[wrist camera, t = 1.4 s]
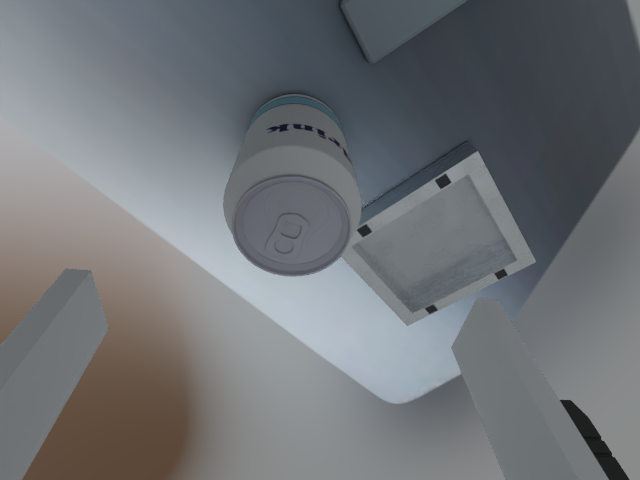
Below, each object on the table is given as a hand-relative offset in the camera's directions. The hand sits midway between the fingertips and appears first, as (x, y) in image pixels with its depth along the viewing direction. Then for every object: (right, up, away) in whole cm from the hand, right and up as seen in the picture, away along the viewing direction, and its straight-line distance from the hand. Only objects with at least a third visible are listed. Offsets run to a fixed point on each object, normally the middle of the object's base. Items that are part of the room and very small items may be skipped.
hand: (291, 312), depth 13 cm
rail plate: (+11, +3, +19) cm, 22 cm away
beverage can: (-1, +10, +14) cm, 17 cm away
